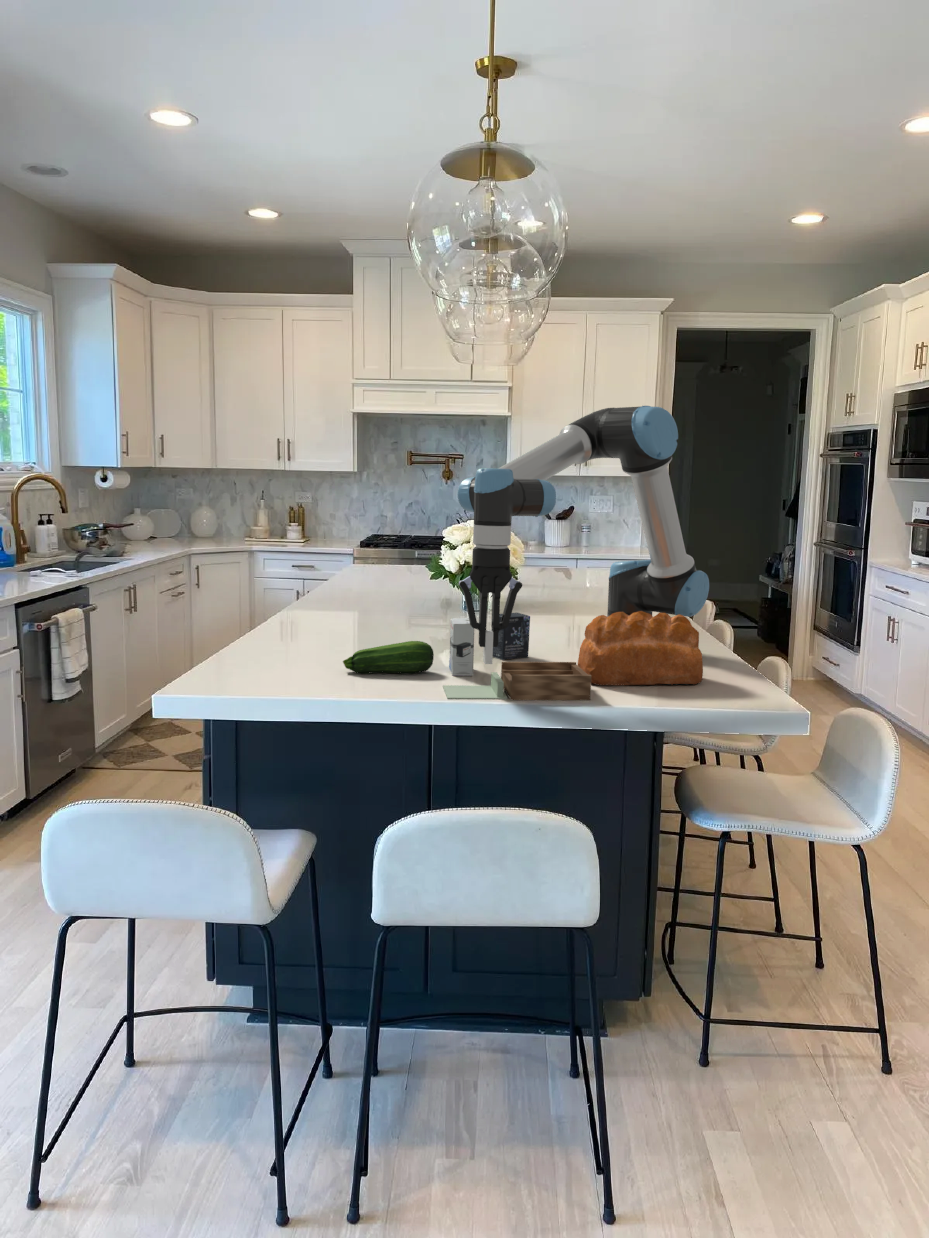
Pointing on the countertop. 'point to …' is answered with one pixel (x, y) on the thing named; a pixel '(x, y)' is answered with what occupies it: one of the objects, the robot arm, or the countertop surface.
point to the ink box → (461, 647)
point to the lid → (477, 690)
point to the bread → (641, 650)
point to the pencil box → (545, 681)
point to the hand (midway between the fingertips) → (487, 662)
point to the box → (513, 638)
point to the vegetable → (392, 658)
